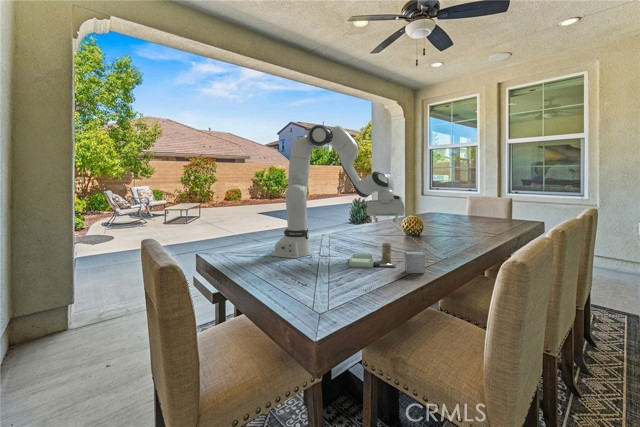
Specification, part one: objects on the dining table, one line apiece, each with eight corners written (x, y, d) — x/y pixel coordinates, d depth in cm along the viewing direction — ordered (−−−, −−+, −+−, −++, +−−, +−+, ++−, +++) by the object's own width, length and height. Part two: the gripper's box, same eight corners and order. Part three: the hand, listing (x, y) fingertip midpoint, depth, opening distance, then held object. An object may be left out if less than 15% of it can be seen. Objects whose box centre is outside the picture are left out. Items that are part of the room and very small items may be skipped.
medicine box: (422, 270, 138) (422, 251, 137) (424, 273, 134) (425, 254, 133) (404, 270, 139) (404, 251, 138) (406, 273, 135) (406, 254, 133)
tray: (349, 267, 145) (349, 261, 145) (351, 258, 160) (351, 253, 160) (372, 267, 143) (372, 262, 143) (373, 258, 158) (373, 254, 158)
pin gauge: (373, 266, 145) (373, 262, 144) (373, 265, 147) (373, 261, 146) (395, 267, 143) (395, 263, 142) (395, 266, 145) (395, 261, 144)
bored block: (382, 262, 152) (382, 244, 150) (382, 260, 156) (382, 242, 154) (390, 262, 151) (390, 244, 150) (390, 260, 155) (390, 242, 154)
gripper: (366, 197, 168) (365, 218, 161) (404, 196, 163) (405, 219, 156) (367, 203, 173) (365, 224, 166) (404, 203, 168) (404, 225, 161)
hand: (385, 221), depth 161 cm, fingers open, 8 cm apart
